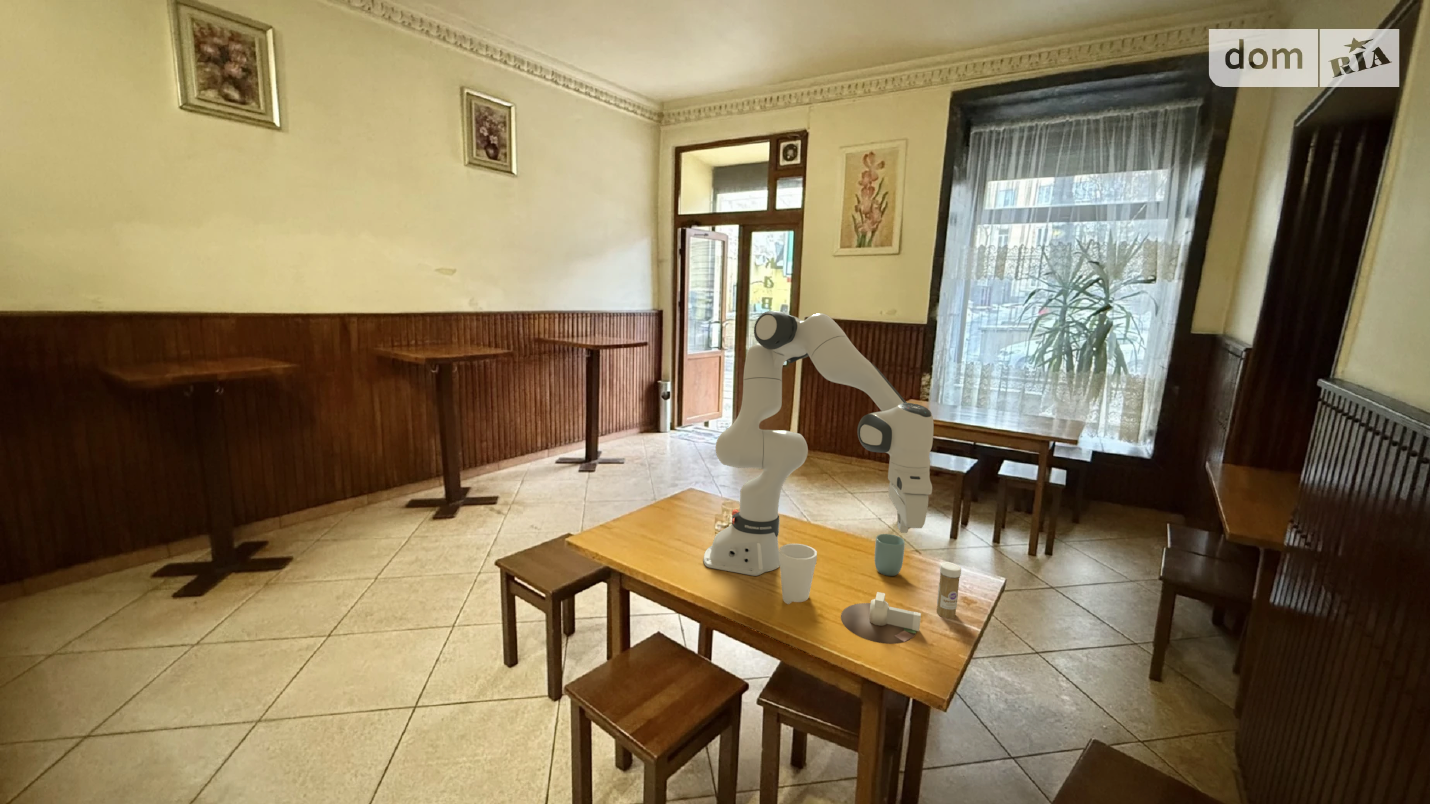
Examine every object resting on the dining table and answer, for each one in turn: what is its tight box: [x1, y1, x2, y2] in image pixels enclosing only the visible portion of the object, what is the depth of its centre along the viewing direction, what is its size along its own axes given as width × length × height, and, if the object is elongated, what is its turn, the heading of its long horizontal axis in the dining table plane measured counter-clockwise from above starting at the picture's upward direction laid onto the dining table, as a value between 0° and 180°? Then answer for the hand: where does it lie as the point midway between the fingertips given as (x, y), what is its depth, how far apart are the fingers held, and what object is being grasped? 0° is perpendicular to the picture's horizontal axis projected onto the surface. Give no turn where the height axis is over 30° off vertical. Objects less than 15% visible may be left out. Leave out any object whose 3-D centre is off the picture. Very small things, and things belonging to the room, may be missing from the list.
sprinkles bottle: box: [936, 561, 962, 619], centre depth 134 cm, size 5×5×14 cm
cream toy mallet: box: [869, 591, 922, 632], centre depth 129 cm, size 11×4×6 cm, turn 67°
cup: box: [874, 533, 906, 577], centre depth 157 cm, size 8×8×10 cm
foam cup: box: [779, 543, 818, 605], centre depth 141 cm, size 10×9×13 cm
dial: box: [840, 602, 918, 645], centre depth 131 cm, size 17×17×1 cm
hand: (902, 530), depth 132 cm, fingers closed
